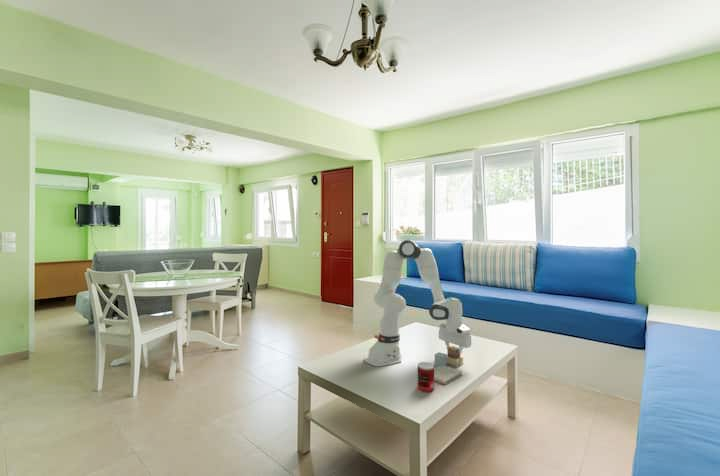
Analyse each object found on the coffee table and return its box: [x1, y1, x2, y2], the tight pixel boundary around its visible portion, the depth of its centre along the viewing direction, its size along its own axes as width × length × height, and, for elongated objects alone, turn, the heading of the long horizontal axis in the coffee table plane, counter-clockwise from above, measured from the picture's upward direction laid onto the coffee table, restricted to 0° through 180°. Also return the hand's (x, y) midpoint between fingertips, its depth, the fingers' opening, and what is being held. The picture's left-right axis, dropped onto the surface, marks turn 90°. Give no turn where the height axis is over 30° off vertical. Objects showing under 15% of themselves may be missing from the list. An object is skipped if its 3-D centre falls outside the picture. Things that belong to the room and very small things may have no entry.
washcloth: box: [434, 365, 463, 386], centre depth 163 cm, size 12×18×3 cm, turn 134°
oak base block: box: [447, 355, 464, 368], centre depth 180 cm, size 7×7×4 cm
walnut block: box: [446, 345, 461, 359], centre depth 180 cm, size 5×5×5 cm
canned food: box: [417, 361, 435, 393], centre depth 150 cm, size 8×8×11 cm
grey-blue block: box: [434, 351, 448, 367], centre depth 177 cm, size 5×5×6 cm
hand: (454, 351), depth 180 cm, fingers open, 6 cm apart
